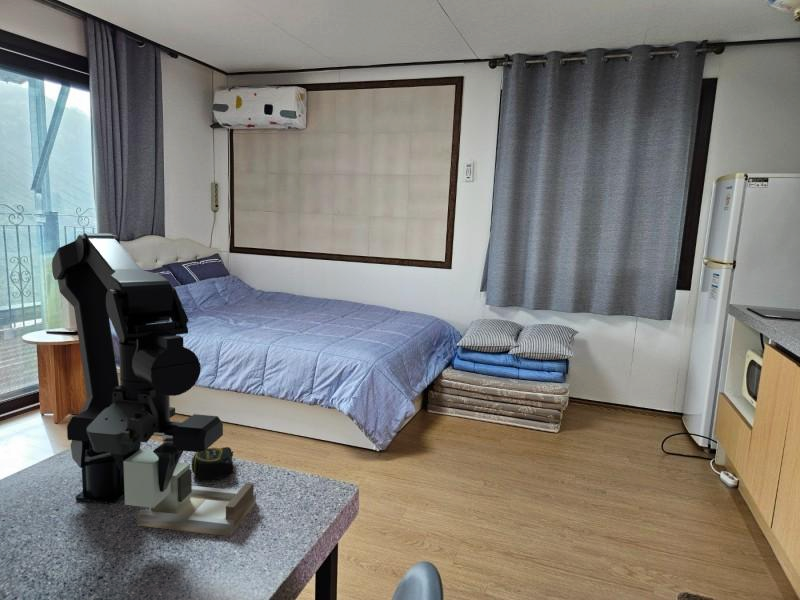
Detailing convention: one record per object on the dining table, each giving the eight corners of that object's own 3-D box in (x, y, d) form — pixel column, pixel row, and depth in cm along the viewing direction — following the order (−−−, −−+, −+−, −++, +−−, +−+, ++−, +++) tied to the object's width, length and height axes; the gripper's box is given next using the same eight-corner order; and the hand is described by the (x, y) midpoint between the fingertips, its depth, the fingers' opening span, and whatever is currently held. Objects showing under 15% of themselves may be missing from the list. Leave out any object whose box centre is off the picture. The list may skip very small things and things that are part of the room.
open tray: (137, 525, 76) (136, 480, 75) (171, 494, 84) (171, 453, 83) (230, 536, 74) (230, 490, 73) (255, 503, 83) (256, 462, 82)
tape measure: (233, 481, 90) (233, 460, 89) (190, 486, 88) (190, 464, 87) (233, 463, 96) (233, 444, 96) (193, 467, 94) (192, 447, 94)
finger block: (125, 504, 69) (123, 461, 68) (145, 487, 73) (144, 446, 72) (153, 507, 68) (152, 464, 68) (172, 490, 73) (171, 449, 72)
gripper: (28, 388, 61) (36, 513, 64) (180, 401, 59) (182, 530, 61) (94, 364, 72) (99, 471, 75) (224, 374, 70) (225, 484, 72)
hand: (148, 488), depth 70 cm, fingers closed on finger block, 4 cm apart
